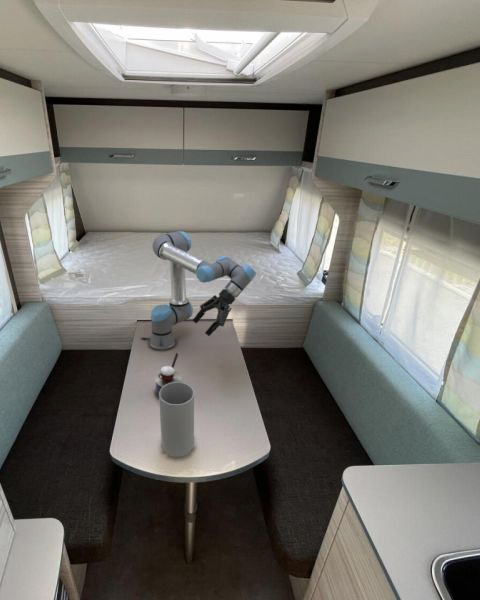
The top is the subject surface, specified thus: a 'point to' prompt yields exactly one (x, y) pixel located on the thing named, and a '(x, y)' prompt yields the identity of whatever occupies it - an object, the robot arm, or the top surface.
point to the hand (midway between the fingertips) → (200, 328)
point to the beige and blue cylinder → (162, 382)
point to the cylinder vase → (177, 418)
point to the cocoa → (168, 370)
